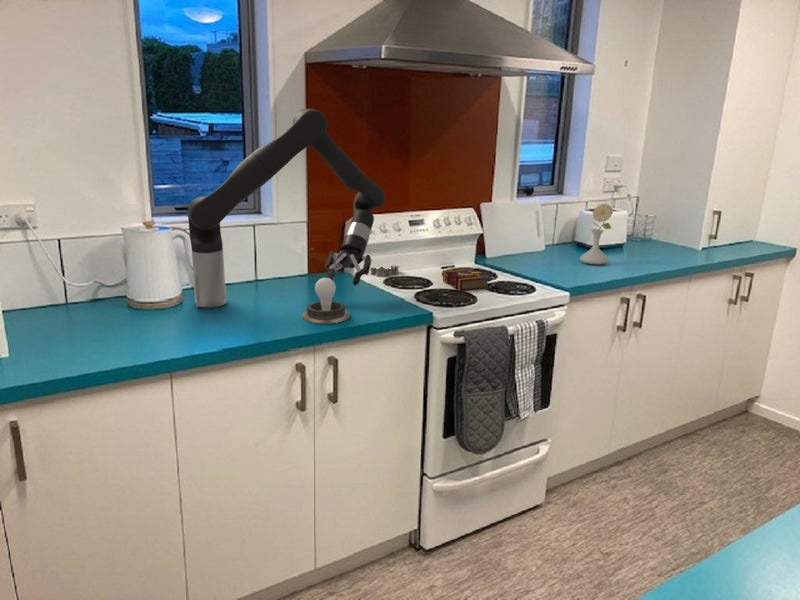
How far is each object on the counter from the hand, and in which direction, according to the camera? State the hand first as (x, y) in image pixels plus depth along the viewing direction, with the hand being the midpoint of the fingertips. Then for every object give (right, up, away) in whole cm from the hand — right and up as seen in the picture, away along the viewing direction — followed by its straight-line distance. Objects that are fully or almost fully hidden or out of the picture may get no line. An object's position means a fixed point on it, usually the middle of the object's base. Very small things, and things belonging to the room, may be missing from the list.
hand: (341, 282), depth 199 cm
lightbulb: (-4, -10, -8) cm, 13 cm away
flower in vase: (+98, +9, +64) cm, 118 cm away
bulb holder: (-4, -10, -8) cm, 14 cm away
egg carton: (+12, +4, +43) cm, 45 cm away
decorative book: (+41, 0, +30) cm, 51 cm away
